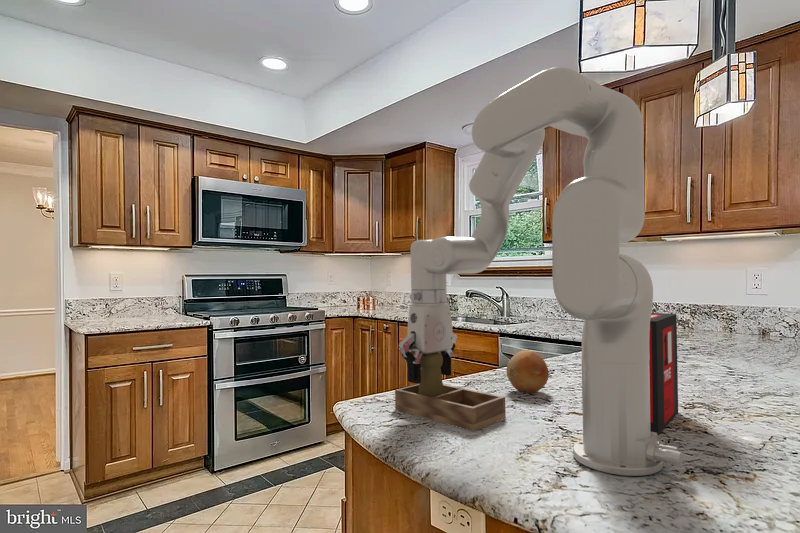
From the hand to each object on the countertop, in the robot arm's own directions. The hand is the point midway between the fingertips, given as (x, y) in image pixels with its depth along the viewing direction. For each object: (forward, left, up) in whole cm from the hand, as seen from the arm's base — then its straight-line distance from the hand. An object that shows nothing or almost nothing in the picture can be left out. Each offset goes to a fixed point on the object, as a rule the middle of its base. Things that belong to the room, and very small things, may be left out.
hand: (430, 378), depth 102 cm
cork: (0, 0, -6) cm, 6 cm away
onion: (-8, -26, -7) cm, 28 cm away
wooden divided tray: (-5, 0, -6) cm, 8 cm away
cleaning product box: (-35, -23, -7) cm, 42 cm away
